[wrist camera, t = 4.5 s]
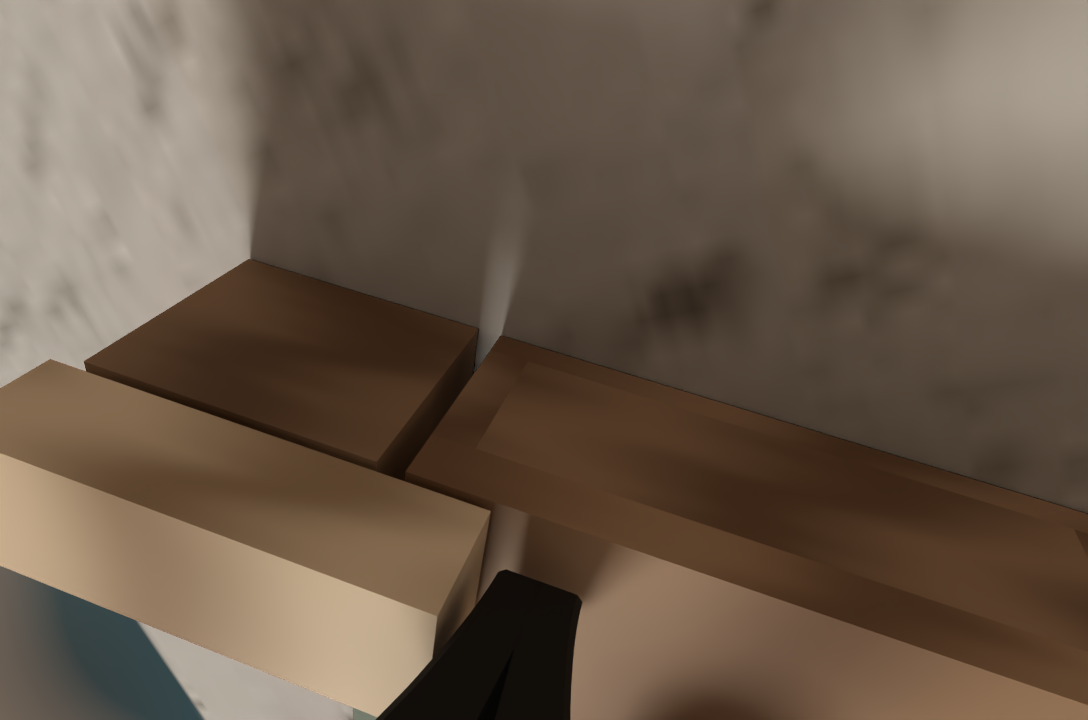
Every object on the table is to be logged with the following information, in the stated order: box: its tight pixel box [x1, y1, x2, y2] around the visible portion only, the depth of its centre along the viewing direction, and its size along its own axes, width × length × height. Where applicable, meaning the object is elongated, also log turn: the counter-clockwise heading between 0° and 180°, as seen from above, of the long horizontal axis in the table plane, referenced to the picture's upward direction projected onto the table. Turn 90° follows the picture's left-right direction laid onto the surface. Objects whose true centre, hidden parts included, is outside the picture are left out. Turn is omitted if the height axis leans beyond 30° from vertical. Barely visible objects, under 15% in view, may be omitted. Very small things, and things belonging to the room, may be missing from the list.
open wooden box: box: [84, 259, 1088, 652], centre depth 15 cm, size 18×10×4 cm, turn 80°
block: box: [0, 359, 491, 717], centre depth 11 cm, size 8×3×2 cm, turn 80°
